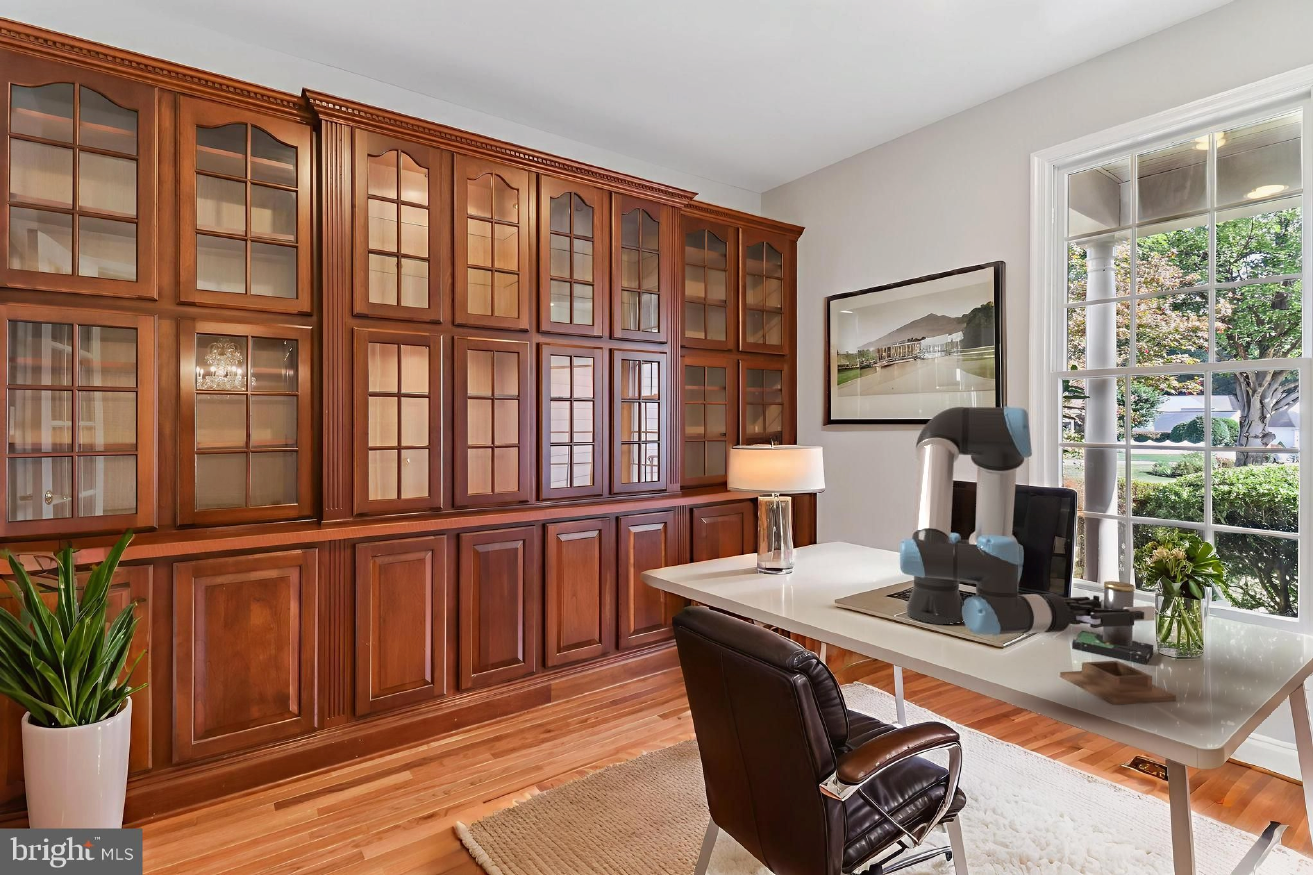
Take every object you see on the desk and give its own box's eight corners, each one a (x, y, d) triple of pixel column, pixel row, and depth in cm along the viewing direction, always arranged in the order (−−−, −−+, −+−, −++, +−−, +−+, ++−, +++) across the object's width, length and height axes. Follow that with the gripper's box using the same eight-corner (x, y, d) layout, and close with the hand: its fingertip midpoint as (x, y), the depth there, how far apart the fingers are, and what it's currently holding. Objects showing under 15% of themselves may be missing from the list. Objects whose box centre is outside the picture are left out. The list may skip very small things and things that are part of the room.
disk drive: (1153, 656, 159) (1081, 640, 169) (1153, 644, 159) (1081, 629, 169) (1146, 667, 152) (1071, 650, 162) (1146, 655, 152) (1071, 639, 162)
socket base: (1060, 676, 145) (1060, 658, 145) (1117, 673, 147) (1117, 655, 147) (1113, 704, 131) (1114, 684, 131) (1175, 700, 133) (1176, 680, 133)
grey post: (1096, 638, 140) (1097, 581, 140) (1117, 637, 141) (1119, 580, 141) (1116, 646, 135) (1118, 587, 135) (1139, 645, 136) (1141, 587, 136)
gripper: (1009, 618, 144) (1105, 614, 148) (1073, 646, 126) (1180, 641, 130) (1010, 583, 144) (1106, 580, 147) (1074, 607, 126) (1181, 603, 130)
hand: (1140, 609), depth 139 cm, fingers closed on grey post, 5 cm apart
